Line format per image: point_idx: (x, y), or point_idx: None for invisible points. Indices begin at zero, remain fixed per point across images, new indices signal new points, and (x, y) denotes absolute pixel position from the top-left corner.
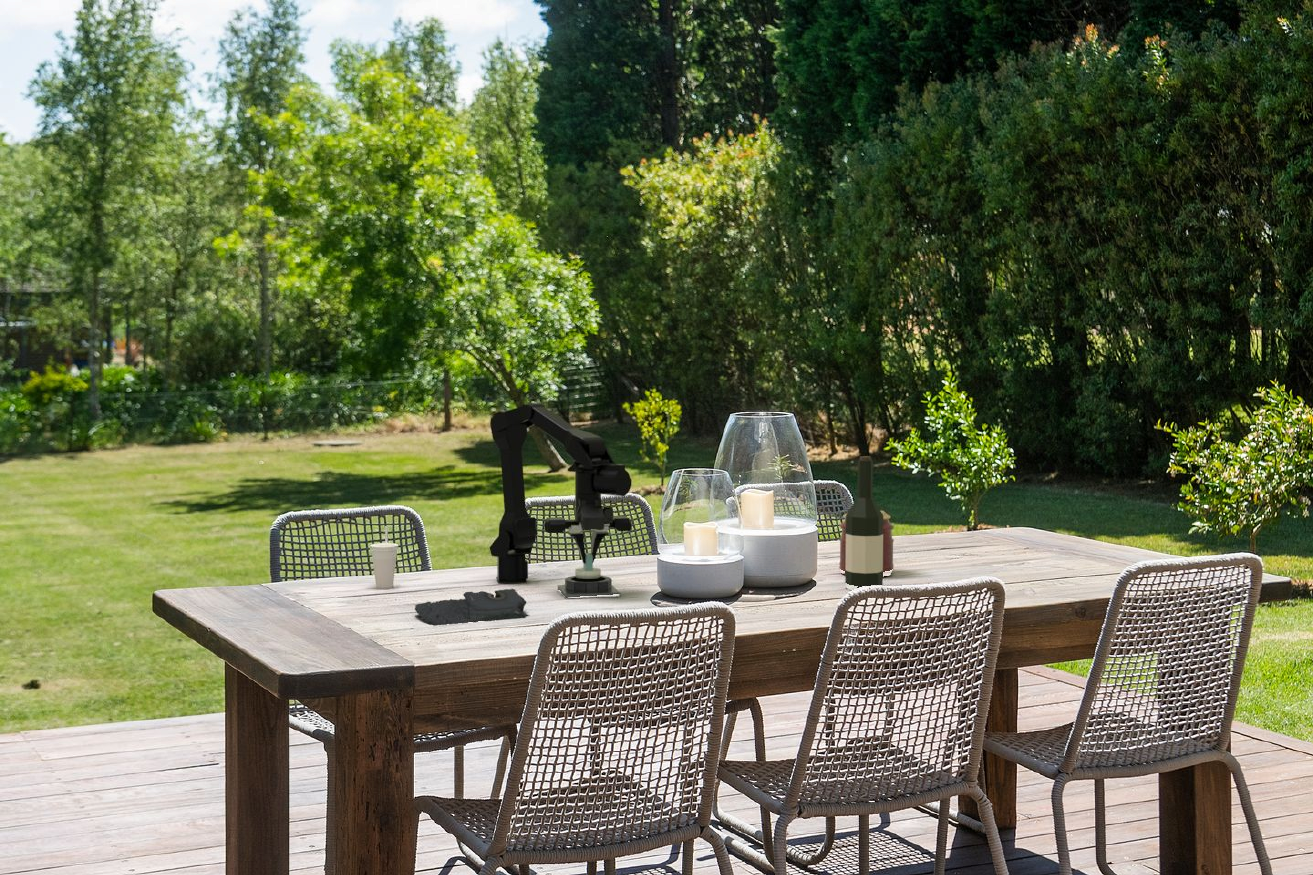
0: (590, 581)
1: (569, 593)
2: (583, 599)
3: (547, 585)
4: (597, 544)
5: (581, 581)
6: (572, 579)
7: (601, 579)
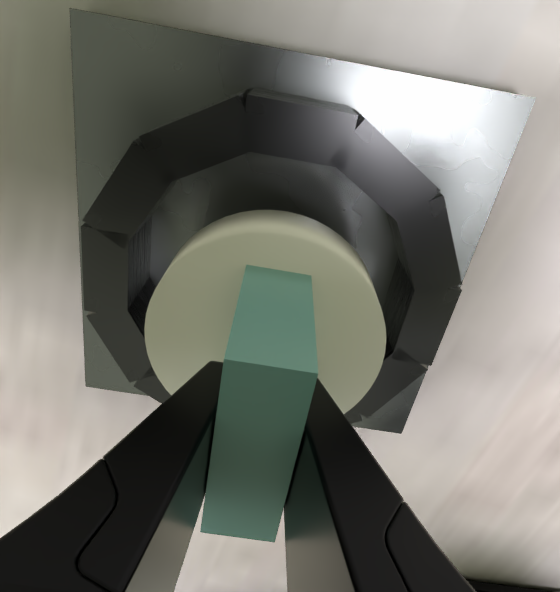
0: None
1: (485, 128)
2: (401, 19)
3: None
4: (75, 522)
5: None
6: None
7: None
